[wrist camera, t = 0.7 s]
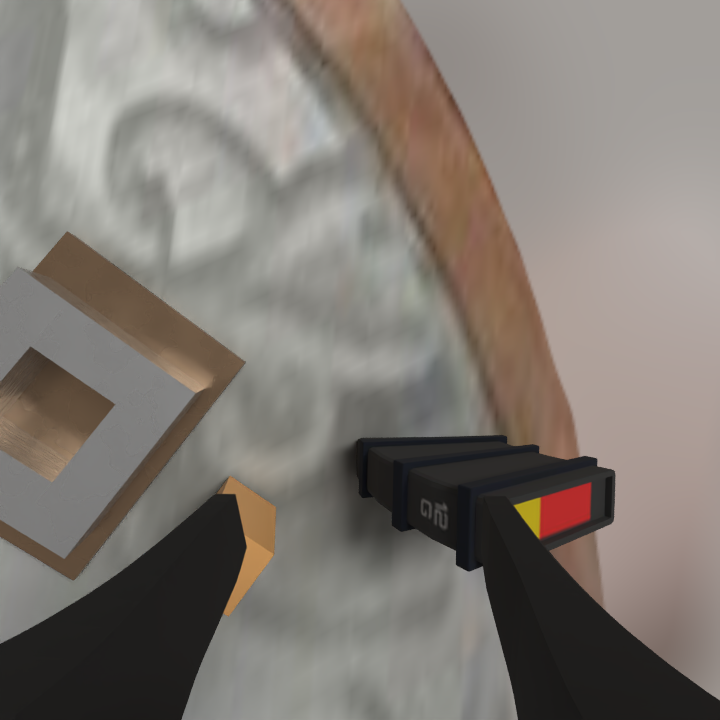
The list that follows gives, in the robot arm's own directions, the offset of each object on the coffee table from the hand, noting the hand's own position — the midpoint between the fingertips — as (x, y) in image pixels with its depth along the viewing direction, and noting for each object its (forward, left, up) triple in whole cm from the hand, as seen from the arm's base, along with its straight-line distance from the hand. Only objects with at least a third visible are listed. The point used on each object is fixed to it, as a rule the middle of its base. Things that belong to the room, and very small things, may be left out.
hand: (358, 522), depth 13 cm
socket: (-9, +13, -20) cm, 25 cm away
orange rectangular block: (-9, 0, -20) cm, 22 cm away
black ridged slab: (+3, -10, -20) cm, 23 cm away
